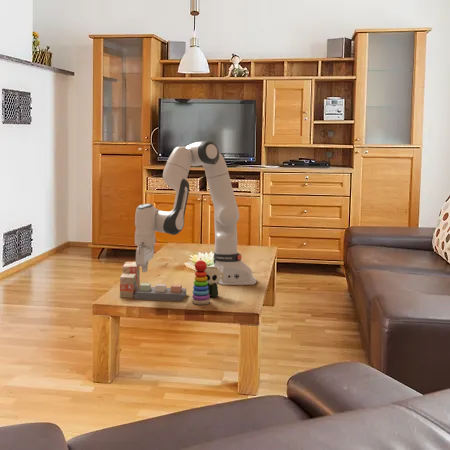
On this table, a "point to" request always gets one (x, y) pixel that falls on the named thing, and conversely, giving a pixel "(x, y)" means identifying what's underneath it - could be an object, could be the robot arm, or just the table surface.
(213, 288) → the character mug
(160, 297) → the button panel
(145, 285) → the sage button
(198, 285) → the stacking toy
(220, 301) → the table surface
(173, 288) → the terracotta button
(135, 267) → the stack of blocks
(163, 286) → the cream button
